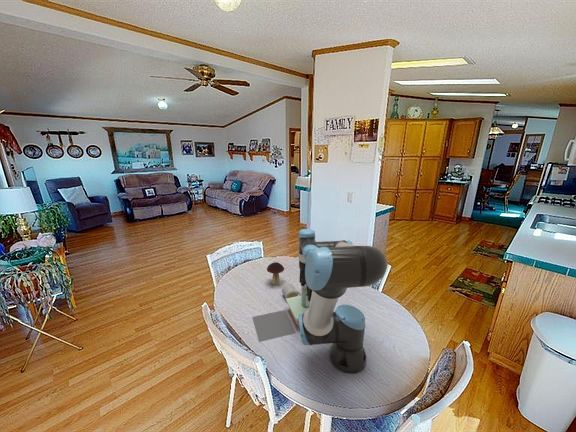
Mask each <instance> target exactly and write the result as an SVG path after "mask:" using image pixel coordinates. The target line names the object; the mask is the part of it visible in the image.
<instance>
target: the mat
mask: <svg viewBox="0 0 576 432" xmlns="http://www.w3.org/2000/svg"><path fill="white" fill-rule="evenodd" d="M251 318H252V321H253V322H252V323H253V324H254V329H255V332H256V333H255V334H256V335H257V336H256V337H257V339H258V343H261V342H264V341H269V340H273V339H277V338H281V337H286V336H291V335H293V334H297V332H296V329H295V328H294V325H293V323H292V321H291V319H290V317H289V315H288V313H287V311H286V309H283V310H279V311H273V312H269V313H264V314H260V315H256V316H255V315H254V316H252V317H251Z"/></svg>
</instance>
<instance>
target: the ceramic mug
mask: <svg viewBox="0 0 576 432" xmlns="http://www.w3.org/2000/svg"><path fill="white" fill-rule="evenodd" d="M281 288H282V289H281V293H282V295H283V296H284V298H285V299H286V298H291V297H296V296H301V291H298V290H296V288H295V286H294V285H293V284H291V283H287V284H285V285H283V287H281Z"/></svg>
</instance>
